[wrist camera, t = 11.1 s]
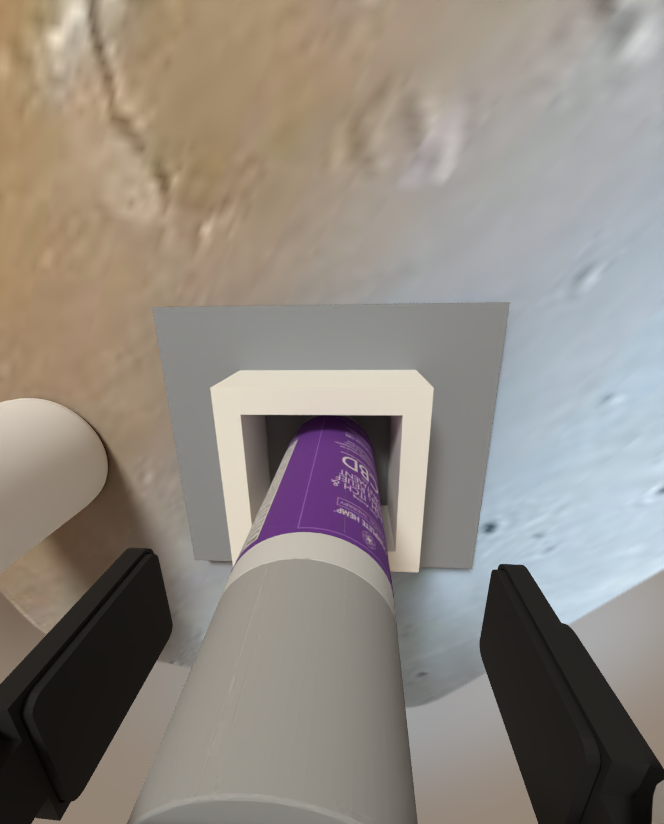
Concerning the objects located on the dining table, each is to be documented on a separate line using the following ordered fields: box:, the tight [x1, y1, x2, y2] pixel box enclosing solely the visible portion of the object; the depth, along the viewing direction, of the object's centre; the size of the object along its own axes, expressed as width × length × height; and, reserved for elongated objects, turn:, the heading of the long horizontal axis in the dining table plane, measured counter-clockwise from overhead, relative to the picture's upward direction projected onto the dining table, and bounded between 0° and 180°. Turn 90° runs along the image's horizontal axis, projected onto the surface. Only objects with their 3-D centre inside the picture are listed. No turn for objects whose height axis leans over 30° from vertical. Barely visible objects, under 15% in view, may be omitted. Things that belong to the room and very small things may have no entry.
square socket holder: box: [152, 302, 510, 572], centre depth 18 cm, size 18×16×5 cm
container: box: [127, 415, 418, 824], centre depth 12 cm, size 5×5×15 cm
